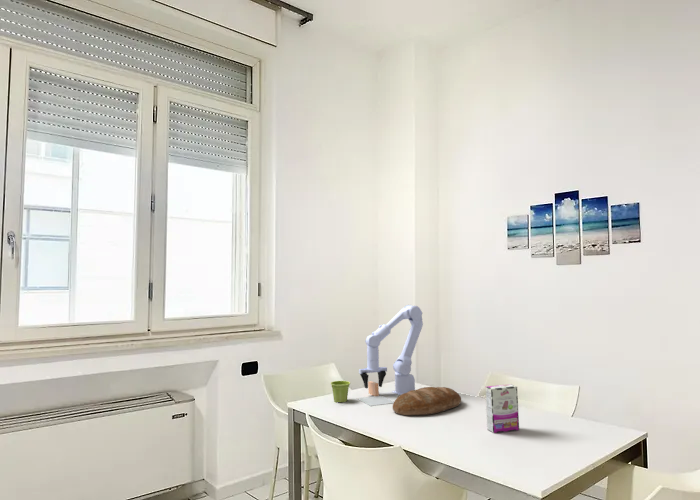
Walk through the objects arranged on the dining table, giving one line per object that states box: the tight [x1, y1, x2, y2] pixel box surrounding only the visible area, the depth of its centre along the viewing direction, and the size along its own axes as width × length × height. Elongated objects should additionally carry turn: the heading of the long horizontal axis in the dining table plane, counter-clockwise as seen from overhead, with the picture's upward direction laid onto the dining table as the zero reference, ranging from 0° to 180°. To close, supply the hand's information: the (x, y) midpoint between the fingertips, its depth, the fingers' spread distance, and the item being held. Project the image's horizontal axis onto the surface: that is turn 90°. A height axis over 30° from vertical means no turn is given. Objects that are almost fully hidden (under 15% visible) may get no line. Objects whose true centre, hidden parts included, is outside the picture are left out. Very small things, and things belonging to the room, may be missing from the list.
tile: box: [367, 380, 380, 396], centre depth 251 cm, size 2×8×6 cm, turn 22°
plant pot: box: [330, 380, 351, 403], centre depth 240 cm, size 9×9×9 cm
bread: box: [392, 386, 462, 416], centre depth 227 cm, size 22×37×8 cm, turn 131°
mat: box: [356, 394, 395, 407], centre depth 239 cm, size 13×16×1 cm
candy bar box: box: [484, 383, 520, 434], centre depth 192 cm, size 11×5×16 cm, turn 105°
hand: (373, 387), depth 251 cm, fingers open, 7 cm apart
